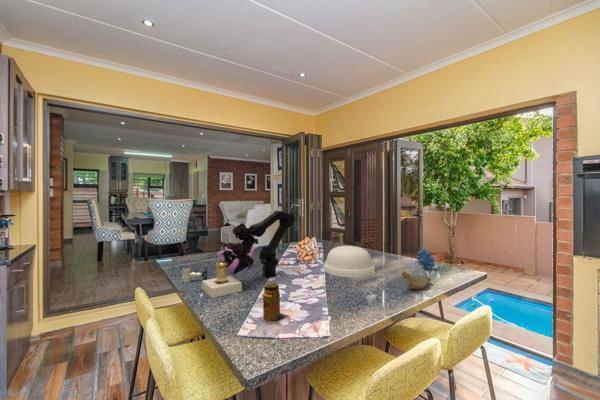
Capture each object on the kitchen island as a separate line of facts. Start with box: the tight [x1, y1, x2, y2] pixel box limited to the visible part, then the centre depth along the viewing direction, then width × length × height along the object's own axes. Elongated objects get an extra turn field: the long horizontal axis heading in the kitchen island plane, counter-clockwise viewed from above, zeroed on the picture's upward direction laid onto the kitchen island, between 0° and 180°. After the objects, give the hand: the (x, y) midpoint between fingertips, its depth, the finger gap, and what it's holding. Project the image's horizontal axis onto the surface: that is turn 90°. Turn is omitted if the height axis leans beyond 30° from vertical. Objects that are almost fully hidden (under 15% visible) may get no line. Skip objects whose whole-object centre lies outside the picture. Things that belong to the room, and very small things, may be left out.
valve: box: [182, 267, 208, 284], centre depth 142 cm, size 7×7×12 cm
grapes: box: [416, 248, 436, 271], centre depth 164 cm, size 12×7×12 cm, turn 32°
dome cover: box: [323, 245, 376, 278], centre depth 163 cm, size 32×30×14 cm
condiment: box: [258, 283, 289, 325], centre depth 100 cm, size 7×8×12 cm
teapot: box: [216, 246, 259, 272], centre depth 169 cm, size 15×25×14 cm, turn 106°
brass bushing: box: [215, 260, 228, 284], centre depth 128 cm, size 5×5×13 cm
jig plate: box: [201, 275, 243, 299], centre depth 128 cm, size 14×14×4 cm
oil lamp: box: [401, 270, 432, 291], centre depth 132 cm, size 9×21×10 cm, turn 123°
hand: (227, 272), depth 131 cm, fingers open, 9 cm apart
